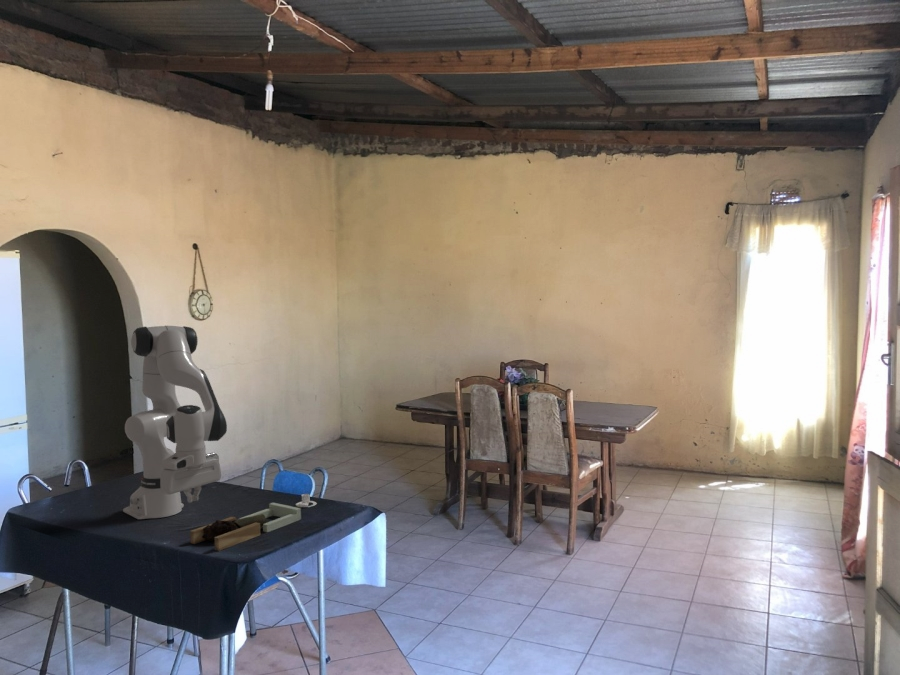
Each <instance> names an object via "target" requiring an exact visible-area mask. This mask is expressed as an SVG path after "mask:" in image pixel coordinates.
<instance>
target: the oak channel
mask: <svg viewBox="0 0 900 675" xmlns="http://www.w3.org/2000/svg"><path fill="white" fill-rule="evenodd" d="M234 520H237V517H235V516H230V517H227V518H224V519H221V520H220V521H234ZM213 523H214V522H212V523H210V524H207V525H209V526H210V525H212V524H213ZM207 525H204V526H200V527H198V528H195V529H192V530H190V531H189V535H190V544H193V545H196V544H198V543H202V542H203V541H206V540H205V539H204V538H203V537H202V536H203V534H204V533H203V532H204V530H203V528H204V527H206V526H207ZM259 536H261V529H260V523H257V522H256V523H253V524H250V525H247V526H245V527H242V528H239V529H236V530H234V531H231V532H228V533H225V534H223V535H220V536H217V537H214V538H215V540H214V551H217V552H220V551H222V550H225V549H227V548H231V547H233V546H236V545H238V544H241V543H243V542H246V541H248V540H251V539H254V538H257V537H259Z"/></svg>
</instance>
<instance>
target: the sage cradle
mask: <svg viewBox="0 0 900 675" xmlns="http://www.w3.org/2000/svg"><path fill="white" fill-rule="evenodd" d="M268 506H269V508H265V509H263V510H259V511H257V512H254V513H252V514H248V515H245V516H243V517H239V518H238V519H242V518H246V517H251V516H255V515H260V514H263V515H265V517H266V519H267V518H270V517H278V518H275V519H273V520H270V521H268V522H267V523H265V524H263V529H262V532H264V533H270V532H272V531H274V530H277V529H279V528H282V527H285V526H288V525H290V524H292V523H295V522H299V521H300V520H302V511H301V510H302V507H297V506H291V505H287V504H281V503H277V502H270V503H268Z"/></svg>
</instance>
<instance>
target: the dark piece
mask: <svg viewBox="0 0 900 675" xmlns="http://www.w3.org/2000/svg"><path fill="white" fill-rule="evenodd" d="M241 518H242V517H241ZM256 522H257V523H260V530H263V524H265V523H268V522H267V518H266V517H265V515H263V514H260V515H255V516H251V517H246V518H242V519H239V518H238V519H237V518H236V520H234V521H221V520H218V519H216V520H215V522H212V523H213V524H212V523H211V524H212V525H210V526H209V524H207V526H206V525H205V526H206V527H204V528H203V530H204V532H203V533H204V534H203V536H202V537H203V538H204V539H205V540H204V541H211V542H212V541H215V538H214V537H217V536H220V535H223V534H225V533H228V532H231V531H234V530H236V529H239V528H242V527H245V526H247V525H250V524H253V523H256Z"/></svg>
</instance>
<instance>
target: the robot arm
mask: <svg viewBox="0 0 900 675" xmlns="http://www.w3.org/2000/svg"><path fill="white" fill-rule="evenodd" d="M198 341H199V340H198V335H197V331H196V330H195V329H194V327H191V326H176V325H160V326H158V325H157V326H155V325H154V326H148V327H147V326H142V327H137V328H136V329H134V331H133V333H132V335H131V339H130V345H131V348H132V351H133V353H134V354H136V355H137V356H139V357H143V362H142V363H143V365H142V386H141V387H142V390H141V391H142V394H143V395H144V396H145V398H148V399H149V400H151V403H152V409H150V410H144V411H140V412H137V413H135V414H133V415H131V416H130V417H128V418H127V419H126V421H125V424H124V432H125V434H126V437H127V439H129V440H130V441H131V442H133V443H134V444H135V445H136V446H137V448H138V450H139V452H140V455H141V459H142V471H143V476H140V477H139V481H141V482H140V486H139V487H138V488H137V489H136V490H135V491H134V492H133V493H132V494H131V495H130V497H129V505H128V506H126V507H124V508H123V509H122V512H123V513H125V514H127V515H129V516H131V517H133V518H135V519H137V520H145V519H147V520H148V519H160V518H166V517H171V516H174V515H177V514H180V512H181V511H182V510H183V508H184V507H185V505H184V503H183V502H182V498H181V492H183V493H184V495H185V496H186V497H187V498H186V500H187V503H189V504H190V503H194V502H197V501H199V499H200V498H199V497H200V496H199V495H200V493H201V491H202V486H204V485H208V484H212V483H215V482H218V481H220V480H221V479H222V470H221V465H220V457H219V456H220V455H218V454H217V453H215V452H211V453H207V452H206V450H207V448H206V444H205V442H218V441H220V440H221V439H222V438H224V436H225V435H226V433H227V430H228V428H227V427H228V424H227V423H228V422H227V419H226V417H225V415H224V413H223V411H222V409H221V408H220V404H219V402H218V400H217V398H216V397H217V396H216V395H215V392H214V390H213V387H212V385H211V382H210V380H209V378H208V375H207V374H206V372H205V370H203V369H201V368H199V367H198V366H197V365H196V364H195V362H194V361H193V359H192V355H193V353H194V352H195V351H196V350H197V347H198ZM176 386H178V387H182V388H187V389H189V390H192V391H195V392H196V393H197V394H198V396H199V397H200V401H201V403H202V406H203V407H204V410H205V411H203V410H202V407H200V406H198V405H193V404H185V405H182V406H181V404H180V403H179V401H178V398H177V394H176ZM165 438H166V439H167V440H168V441H170V442H171V443H173V444H176V445H175V452H174V451H173V450H172V449H170V448H167V446H166V444H165ZM192 489H194V491H192ZM192 492H193V494H192Z"/></svg>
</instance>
